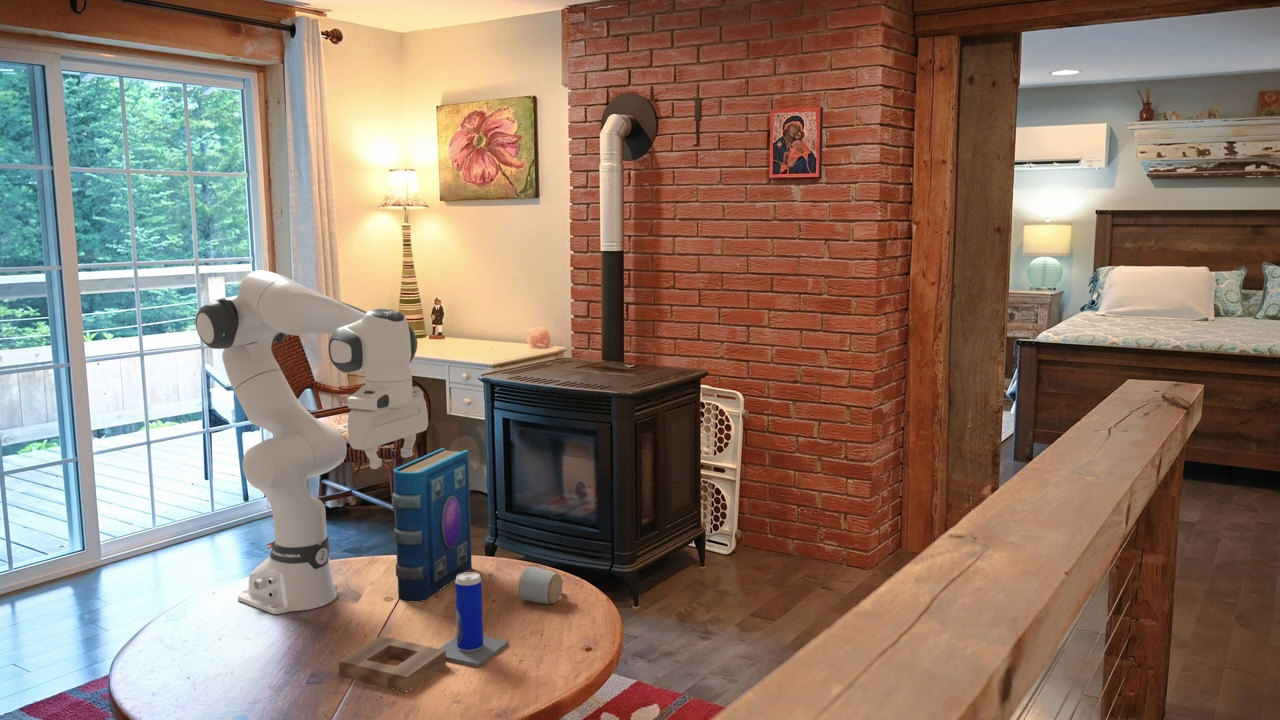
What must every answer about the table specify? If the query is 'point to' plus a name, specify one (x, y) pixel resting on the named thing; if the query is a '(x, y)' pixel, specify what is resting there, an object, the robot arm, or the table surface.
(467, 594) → the beverage can
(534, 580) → the ceramic mug
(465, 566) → the book
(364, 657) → the walnut caddy
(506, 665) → the table surface
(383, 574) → the table surface
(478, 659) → the rubber mat
